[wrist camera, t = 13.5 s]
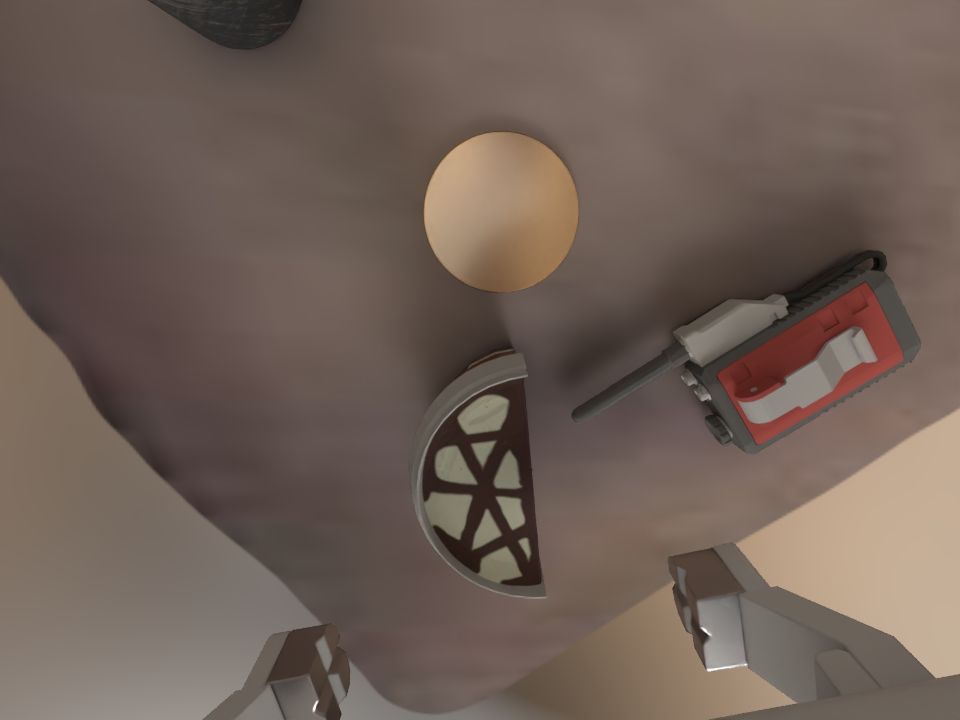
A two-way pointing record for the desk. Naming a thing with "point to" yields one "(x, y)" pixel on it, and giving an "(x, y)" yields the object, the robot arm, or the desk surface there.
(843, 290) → the walkie-talkie
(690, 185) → the desk surface
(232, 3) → the travel mug
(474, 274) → the cork coaster
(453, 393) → the food container
